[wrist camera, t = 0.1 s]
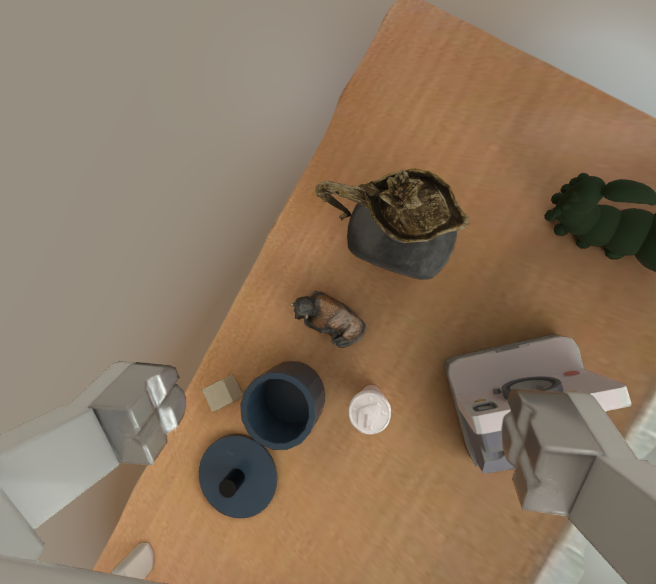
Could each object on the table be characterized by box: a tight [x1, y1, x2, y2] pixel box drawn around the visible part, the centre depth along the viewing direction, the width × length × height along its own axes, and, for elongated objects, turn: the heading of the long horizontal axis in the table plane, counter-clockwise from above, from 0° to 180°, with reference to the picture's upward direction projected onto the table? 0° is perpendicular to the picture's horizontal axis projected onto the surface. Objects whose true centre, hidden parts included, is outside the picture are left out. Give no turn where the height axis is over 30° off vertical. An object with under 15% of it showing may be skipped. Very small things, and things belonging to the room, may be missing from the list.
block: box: [202, 374, 243, 412], centre depth 64 cm, size 4×4×4 cm
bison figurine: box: [291, 291, 366, 348], centre depth 59 cm, size 12×7×10 cm, turn 61°
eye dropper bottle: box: [111, 543, 154, 579], centre depth 63 cm, size 4×6×12 cm
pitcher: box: [315, 169, 469, 280], centre depth 47 cm, size 11×19×30 cm, turn 69°
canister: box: [241, 362, 325, 450], centre depth 60 cm, size 12×12×10 cm
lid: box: [199, 435, 277, 518], centre depth 63 cm, size 15×15×5 cm
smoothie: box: [349, 385, 391, 434], centre depth 55 cm, size 6×6×14 cm
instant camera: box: [444, 335, 631, 473], centre depth 51 cm, size 21×21×15 cm
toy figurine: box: [544, 173, 656, 272], centre depth 48 cm, size 9×19×25 cm
